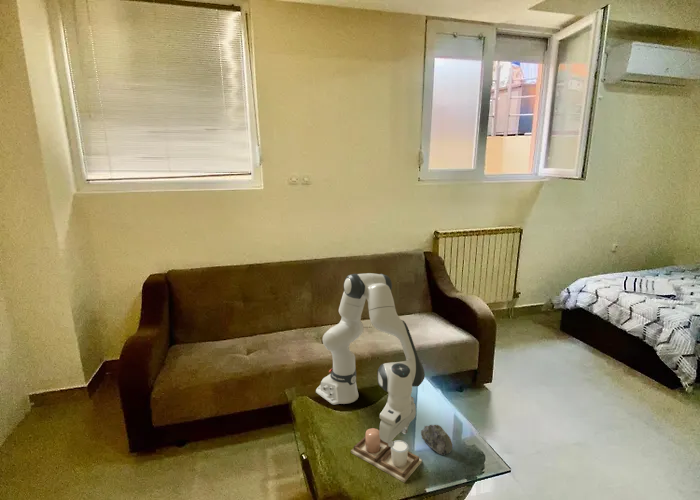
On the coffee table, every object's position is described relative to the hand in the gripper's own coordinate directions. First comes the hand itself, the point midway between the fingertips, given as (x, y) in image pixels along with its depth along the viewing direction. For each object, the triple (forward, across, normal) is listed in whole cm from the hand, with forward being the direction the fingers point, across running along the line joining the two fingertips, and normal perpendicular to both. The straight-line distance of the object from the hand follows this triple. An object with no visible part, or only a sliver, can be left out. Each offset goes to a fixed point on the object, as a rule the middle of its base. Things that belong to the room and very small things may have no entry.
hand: (397, 439), depth 150 cm
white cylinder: (+10, 0, +1) cm, 10 cm away
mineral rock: (+11, -19, +7) cm, 23 cm away
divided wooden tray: (+11, 0, -5) cm, 12 cm away
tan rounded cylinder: (+10, 0, -12) cm, 15 cm away
